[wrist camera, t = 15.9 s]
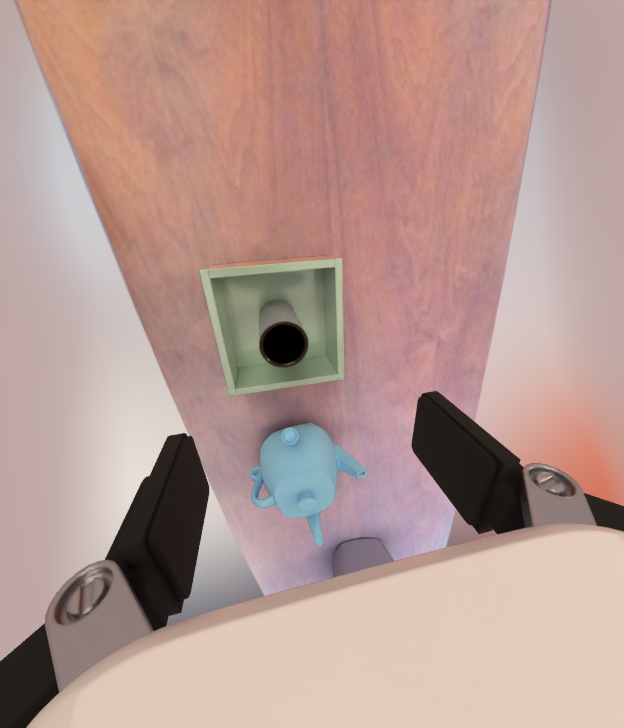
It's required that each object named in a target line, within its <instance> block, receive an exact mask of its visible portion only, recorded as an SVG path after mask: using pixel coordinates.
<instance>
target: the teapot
mask: <svg viewBox="0 0 624 728" xmlns="http://www.w3.org/2000/svg"><path fill="white" fill-rule="evenodd" d="M338 470H341V471H343V472H345V473H348V474H350V475H352V476H355V477H357V479H359V478H362V477H364V476H367V470H366V468H364V467H363V466H362V465H361V464H360V463H359V462H357V461H356V460H355V459H354V458H353V457H352V456H350V455H349V454H348V453H347V452H346V451H344V450H343V449H342V448H341V447H340V446H339V445H337V444H333V441H332V440H331V438H330V436H329V435H328V434H327V432H326V431H325V430H324V429H322V428H321V427H319V426H317V425H315V424H313V423H307V424H300V425H295V426H291V427H288V428H284V429H282V430H279V431H277V432H273V433H272V434H271V435H270V436H269V437H268V438H267V439H266V440H265V441H264V443H263V444H262V447H261V450H260V466H257V467H255V468H253V469H252V471H251V473H250V476H251V479H252V480H253V481H255V484H254V486H253V489H252V493H251V498H252V501H253V503H254V505H256V506H257V507H259V508H268V507H271V506H273V505H274V504H276V506H277V507H278V508H279V510H280V511H281V512H282V513H283V514H284V515H285V516H287V517H289V518H300V517H304V516H306V518H307V520H308V523H309V525H310V528H311V530H312V533H313V537H314V540H315V542H316V544H317V545H318V546H322V545H323V542H324V540H323V535H322V530H321V522H320V511H323V510H325V509H327V508H329V507H330V506H331V504H332V503H333V501H334V497H335V493H336V486H337V479H338ZM263 481H264V484H265V487H266V489H267V491H268V493H269V495H270V497H268V498H265V499H258V495H259V491H260V489H261V486H262V484H263Z"/></svg>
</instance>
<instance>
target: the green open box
mask: <svg viewBox="0 0 624 728" xmlns="http://www.w3.org/2000/svg"><path fill="white" fill-rule="evenodd" d="M199 273H200V277H201V281H202V285H203V289H204V293H205V297H206V302H207V306H208V310H209V314H210V318H211V322H212V326H213V331H214V335H215V339H216V343H217V347H218V351H219V355H220V360H221V364H222V368H223V372H224V376H225V380H226V384H227V389H228V393H229V396H234V395H241V394H248V393H255V392H261V391H268V390H275V389H281V388H288V387H295V386H301V385H308V384H315V383H321V382H328V381H335V380H341V379H344V329H343V267H342V258H338V257H331V256H315V257H303V258H291V259H279V260H267V261H255V262H243V263H231V264H219V265H211V266H209V267H206V268H204V269H202V270H199ZM272 300H282V301H285V302H287V303H288V304H289V305H290V306H291V307H292V308H293V310H294V311H295V313H296V315H297V317H298V319H299V321H300V323H301V325H302V327H303V329H304V330H305V332H306V334H307V337H308V342H309V346H308V351H307V353H306V355H305V357H304V358H303V359H302V360H301V361H300V362H299V363H297V364H296V365H294V366H291V367H286V368H281V367H276V366H273V365H271V364H269V363H268V362H267V361H266V360H265V359H264V358H263V357H262V355H261V353H260V349H259V315H260V311H261V309H262V307H263V306H264V305H265V304H266V303H268V302H270V301H272Z"/></svg>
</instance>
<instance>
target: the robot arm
mask: <svg viewBox="0 0 624 728" xmlns="http://www.w3.org/2000/svg"><path fill="white" fill-rule="evenodd" d="M412 449H413V452H414V453H415V455H416V456H417V457H418V459H419V460H420V461H421V463H422V464H423V465H424V467H425V468H426V469H427V471H428V472H429V473H430V475H431V476H432V477H433V479H434V480H435V481H436V483H437V484H438V485H439V487H440V488H441V489H442V491H443V492H444V493H445V495H446V496H447V497H448V499H449V500H450V501H451V503H452V504H453V505H454V507H455V508H456V509H457V511H458V512H459V513H460V515H461V516H462V517H463V519H464V520H465V521H466V523H468V524H469V525H472V526H473V527H474V528H475V530H476V531H477V532H478V534H481V533H485V532H489V531H492V529H493V530H494V531H495V532H496V533H497V534H498V535H494V536H489V537H485V538H481V539H477V540H474V541H470V542H466V543H462V544H459V545H454V546H450V547H447V548H443V549H439V550H435V551H431V552H427V553H424V554H420V555H416V556H412V557H408V558H405V559H401V560H397V561H393V562H390V563H386V564H382V565H378V566H375V567H371V568H367V569H363V570H360V571H356V572H352V573H348V574H345V575H341V576H337V577H334V578H330V579H326V580H322V581H319V582H315V583H311V584H308V585H304V586H300V587H297V588H293V589H289V590H286V591H282V592H279V593H275V594H271V595H268V596H264V597H260V598H257V599H253V600H249V601H246V602H242V603H239V604H236V605H232V606H229V607H225V608H222V609H218V610H215V611H212V612H208V613H205V614H201V615H198V616H195V617H191V618H189V619H186V620H183V621H180V622H177V623H174V624H171V625H168V626H166V625H167V620H168V616H170V615H174V614H178V613H181V611H182V606H183V602H184V599H187V598H188V597H189V595H190V592H191V588H192V583H193V577H194V572H195V566H196V561H197V556H198V550H199V545H200V540H201V535H202V529H203V524H204V518H205V513H206V508H207V502H208V497H209V485H208V481H207V479H206V476H205V473H204V470H203V467H202V464H201V461H200V458H199V455H198V452H197V449H196V446H195V443H194V440H193V438H192V436H187V434H185V433H183V434H177V435H171V436H168V437H167V439H166V441H165V443H164V446H163V448H162V450H161V452H160V455H159V457H158V459H157V462H156V463H155V465H154V468H153V470H152V472H151V474H150V476H148V477H146V478H145V479H144V480H143V482H142V483H141V485H140V487H139V489H138V491H137V493H136V495H135V498H134V500H133V502H132V504H131V506H130V509H129V510H128V512H127V514H126V517H125V519H124V521H123V523H122V525H121V527H120V529H119V531H118V533H117V535H116V537H115V540H114V542H113V544H112V546H111V548H110V550H109V552H108V554H107V557H106V558H105V560H103V561H98V562H96V563H93V564H90V565H88V566H87V567H85V568H83V569H82V570H81V571H79V572H77V573H76V574H75V575H74V576H73V577H71V578H70V579H69V580H68V581H67V582H66V583H65V584H64V585H63V586H62V587H61V589H60V590H59V591H58V592H57V593H56V595H55V597H54V598H53V600H52V601H51V603H50V605H49V607H48V610H47V613H46V615H45V624H43V625H42V626H41V627H40V628H39V629H38V630H36V631H35V632H34V633H33V634H32V635H31V636H30V637H28V638H27V639H26V640H25V641H24V642H22V643H21V644H20V645H19V646H18V647H17V648H15V649H14V650H13V651H12V652H11V653H10V654H8V655H7V656H6V657H5V658H4V659H3V660H1V661H0V728H624V506H621V505H618V504H615V503H612V502H609V501H606V500H603V499H600V498H597V497H594V496H591V495H588V494H585V493H583V490H582V489H581V487H580V485H579V484H578V483H577V482H576V481H575V480H574V479H573V478H572V477H570V476H569V475H568V474H566V473H565V472H563V471H561V470H559V469H557V468H555V467H552V466H549V465H545V464H540V463H531V464H528V465H526V466H525V467H523V466H521V465H520V464H519V462H520V459H519V458H518V457H517V456H515V455H514V454H513V453H511V452H510V451H509V450H508V449H507V448H506V447H504V446H503V445H502V444H501V443H500V442H498V441H497V440H496V439H494V438H493V437H492V436H491V435H490V434H488V433H487V432H486V431H485V430H484V429H483V428H481V427H480V426H479V425H478V424H476V423H475V422H474V421H473V420H472V419H470V418H469V417H468V416H467V415H466V414H464V413H463V412H462V411H461V410H460V409H458V408H457V407H456V406H455V405H453V404H452V403H451V402H450V401H449V400H447V399H446V398H445V397H444V396H443V395H441V394H440V393H439V392H437V391H433V392H427V393H423V394H422V395H421V397H419V399H418V403H417V410H416V417H415V424H414V431H413V438H412Z"/></svg>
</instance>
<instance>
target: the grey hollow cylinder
mask: <svg viewBox="0 0 624 728" xmlns="http://www.w3.org/2000/svg"><path fill="white" fill-rule="evenodd" d="M308 346H309V342H308V337H307V334H306V332H305V330H304V329H303V327H302V325H301V323H300V321H299V319H298V317H297V315H296V313H295V311H294V310H293V308H292V307H291V306H290V305H289V304H288V303H287V302H285V301H282V300H272V301H270V302H268V303H266V304H265V305H264V306H263V307H262V309H261V311H260V315H259V349H260V353H261V355H262V357H263V358H264V359H265V360H266V361H267V362H268V363H269V364H271V365H273V366H276V367H281V368H286V367H291V366H294V365H296V364H297V363H299V362H300V361H301V360H302V359H303V358H304V357H305V355H306V353H307V351H308Z"/></svg>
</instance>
